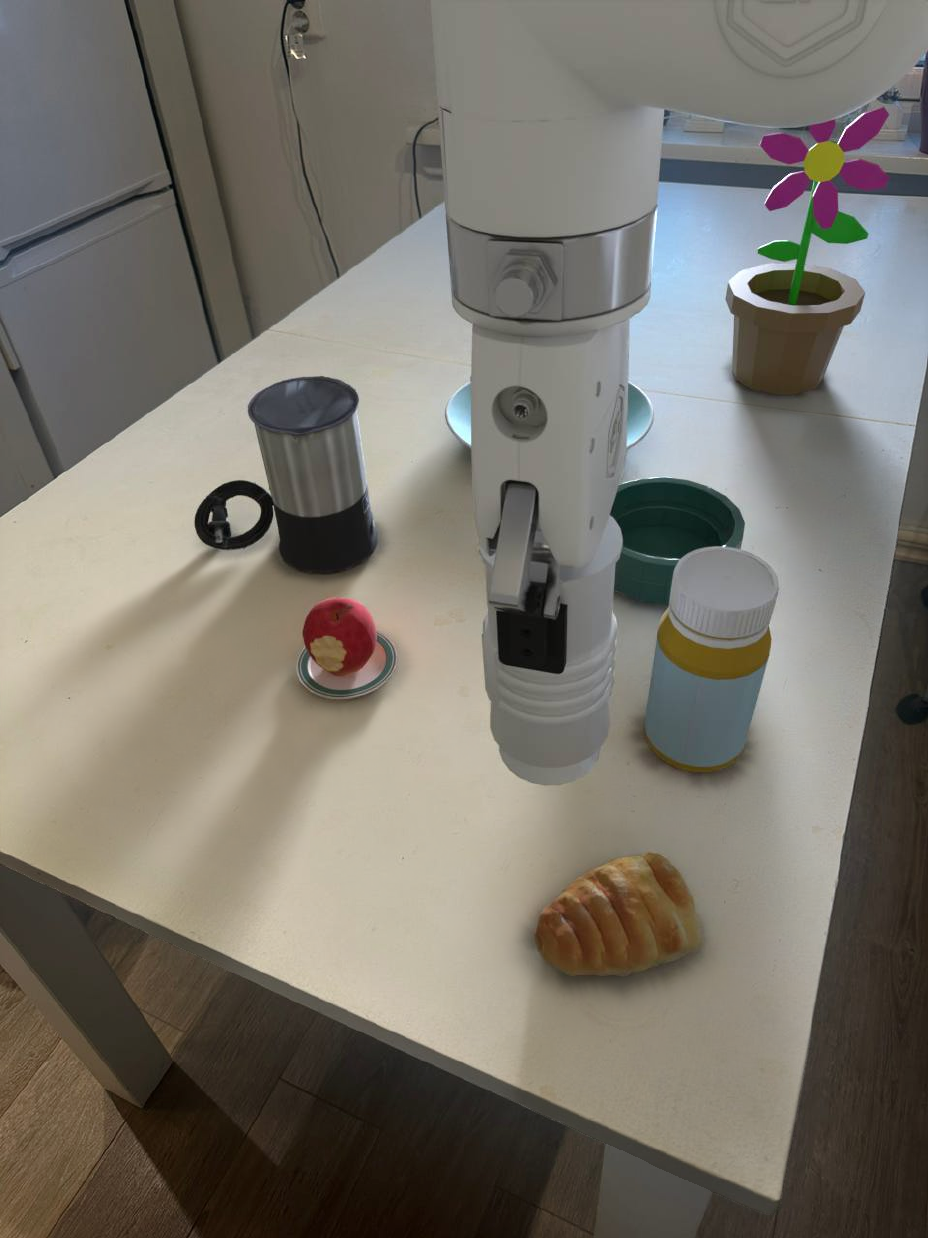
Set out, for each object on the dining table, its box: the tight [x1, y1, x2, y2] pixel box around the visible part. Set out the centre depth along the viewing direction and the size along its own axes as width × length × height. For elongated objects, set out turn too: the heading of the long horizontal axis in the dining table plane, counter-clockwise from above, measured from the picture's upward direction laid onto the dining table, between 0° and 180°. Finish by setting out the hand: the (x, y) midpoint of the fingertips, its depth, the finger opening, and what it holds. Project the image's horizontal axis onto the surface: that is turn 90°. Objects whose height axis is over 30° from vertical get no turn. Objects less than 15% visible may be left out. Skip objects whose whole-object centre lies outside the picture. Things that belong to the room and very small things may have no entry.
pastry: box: [534, 851, 704, 977], centre depth 51 cm, size 9×7×4 cm
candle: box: [477, 515, 623, 787], centre depth 46 cm, size 7×7×15 cm
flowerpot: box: [724, 106, 890, 395], centre depth 92 cm, size 14×14×30 cm
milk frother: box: [193, 375, 379, 575], centre depth 77 cm, size 14×16×15 cm
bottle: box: [643, 546, 780, 773], centre depth 57 cm, size 7×7×15 cm
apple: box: [295, 597, 398, 700], centre depth 67 cm, size 8×8×6 cm
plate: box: [444, 381, 655, 451], centre depth 94 cm, size 22×22×3 cm
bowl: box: [610, 476, 746, 606], centre depth 75 cm, size 13×13×5 cm
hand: (549, 615), depth 44 cm, fingers closed on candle, 6 cm apart
